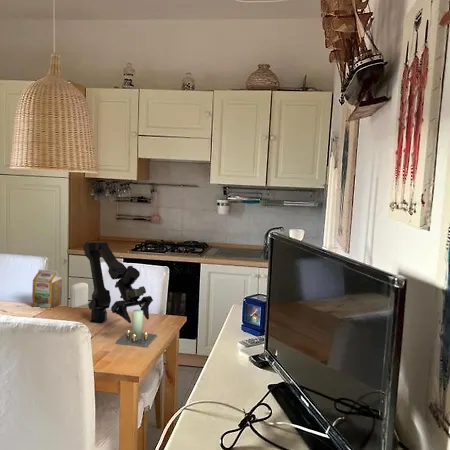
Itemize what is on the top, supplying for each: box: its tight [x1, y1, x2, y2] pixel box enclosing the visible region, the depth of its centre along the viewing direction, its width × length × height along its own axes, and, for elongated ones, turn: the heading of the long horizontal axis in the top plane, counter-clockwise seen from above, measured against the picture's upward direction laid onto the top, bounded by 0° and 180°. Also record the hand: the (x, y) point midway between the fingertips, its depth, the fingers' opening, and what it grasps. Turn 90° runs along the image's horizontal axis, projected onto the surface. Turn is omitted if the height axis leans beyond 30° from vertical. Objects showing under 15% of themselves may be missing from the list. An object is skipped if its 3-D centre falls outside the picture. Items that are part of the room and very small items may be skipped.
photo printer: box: [69, 282, 89, 309], centre depth 254 cm, size 10×4×12 cm, turn 148°
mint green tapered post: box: [131, 309, 144, 340], centre depth 208 cm, size 4×4×12 cm
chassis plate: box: [115, 329, 158, 348], centre depth 208 cm, size 14×14×4 cm
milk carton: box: [31, 269, 63, 310], centre depth 250 cm, size 11×11×19 cm
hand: (139, 320), depth 206 cm, fingers open, 9 cm apart
